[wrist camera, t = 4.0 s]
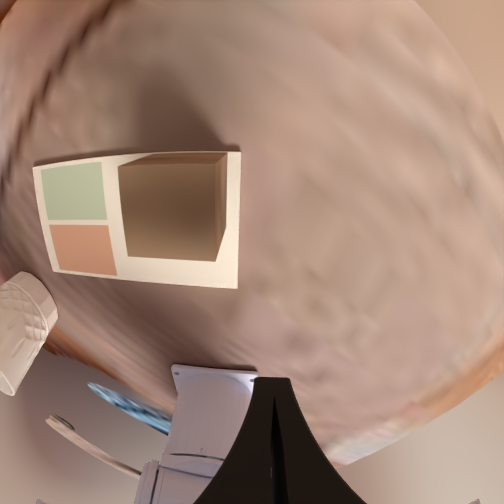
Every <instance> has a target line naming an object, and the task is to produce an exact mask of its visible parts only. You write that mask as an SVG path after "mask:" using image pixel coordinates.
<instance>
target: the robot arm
mask: <svg viewBox="0 0 504 504" xmlns="http://www.w3.org/2000/svg"><path fill="white" fill-rule="evenodd" d="M171 371H172V375H173V378H174V382H175V386H176V390H177V393H178V397H177V401H176V405H175V409H174V414H173V418H172V422H171V426H170V430H169V434H168V439H167V444H166V448H165V452H164V453H163V456H162V460H161V464H160V465H158V464H159V461H156V460H151V462H148V463H146V464H145V465H144V467H143V470H142V473H141V477H140V481H139V485H138V489H137V494H136V499H135V504H367V503H365V502H364V501H363V500H362V499H361V498H360V497H359V496H358V495H357V494H356V493H355V492H354V491H353V490H352V489H351V488H350V487H349V485H348V484H347V483H346V482H345V481H344V480H343V479H342V477H341V476H340V475H339V474H338V473H337V471H336V470H335V469H334V467H333V466H332V465H331V463H330V462H329V460H328V459H327V457H326V456H325V455H324V453H323V451H322V450H321V448H320V447H319V445H318V443H317V442H316V440H315V438H314V436H313V434H312V433H311V431H310V429H309V427H308V425H307V423H306V421H305V418H304V416H303V414H302V412H301V410H300V407H299V405H298V402H297V400H296V397H295V394H294V391H293V388H292V385H291V381H290V379H289V378H278V377H259V375H258V373H257V372H255V371H241V370H226V369H214V368H204V367H194V366H186V365H178V364H174V365H172V367H171ZM36 504H47V503H46V502H44V501H42V500H40V499H37V502H36ZM469 504H480V501H479V499H477V500H475V501H473V502H471V503H469Z"/></svg>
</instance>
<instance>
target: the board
mask: <svg viewBox="0 0 504 504" xmlns="http://www.w3.org/2000/svg"><path fill="white" fill-rule="evenodd" d="M162 153H228V160H227V213H226V229H225V233H224V236H223V239H222V242H221V246H220V249H219V252H218V255H217V259H216V262H210V261H193V260H176V259H159V258H144V257H128V254H127V248H126V241H125V235H124V227H123V220H122V212H121V202H120V192H119V180H118V166H120V165H123V164H125V163H128V162H131V161H134V160H136V159H139V158H142V157H145V156H148V155H151V154H162ZM33 177H34V185H35V192H36V199H37V205H38V210H39V216H40V221H41V226H42V230H43V235H44V239H45V243H46V247H47V251H48V255H49V259H50V262H51V266H52V269H53V272H60V273H68V274H76V275H85V276H93V277H102V278H111V279H121V280H131V281H142V282H153V283H164V284H177V285H190V286H204V287H219V288H236V289H237V287H238V248H239V211H240V180H241V152H235V151H177V152H152V153H136V154H123V155H112V156H102V157H93V158H85V159H78V160H71V161H64V162H58V163H52V164H46V165H40V166H35V167H33Z"/></svg>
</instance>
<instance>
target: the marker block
mask: <svg viewBox="0 0 504 504" xmlns="http://www.w3.org/2000/svg"><path fill="white" fill-rule="evenodd" d="M227 160H228V153H162V154H151V155H148V156H145V157H142V158H139V159H136V160H134V161H131V162H128V163H125V164H123V165H120V166H118V180H119V192H120V202H121V212H122V220H123V227H124V235H125V241H126V248H127V254H128V257H144V258H159V259H176V260H193V261H210V262H216V259H217V255H218V252H219V249H220V246H221V242H222V239H223V236H224V233H225V229H226V213H227Z"/></svg>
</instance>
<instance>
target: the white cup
mask: <svg viewBox="0 0 504 504" xmlns="http://www.w3.org/2000/svg"><path fill="white" fill-rule="evenodd" d="M57 319H58V314H57V307H56V305H55V302H54V300H53V298H52V296H51V294H50V293H49V291H48V290H47V289H46V287H45V286H44V285H43V284H42V282H41V281H39V280H38V279H37V278H36V277H34V276H33V275H32V274H30V273H27V272H23V271H21V272H19V273H17V274H15V275H14V276H13V277H11V278H10V279H9V280H8V281H7V282H5V283H4V284H1V285H0V390H1V391H2V392H4V393H5V394H7V395H10V396H13V395H14V394H15V392H16V390H17V388H18V387H19V385H20V383H21V381H22V379H23V378H24V376H25V374H26V372H27V371H28V369H29V367H30V366H31V364H32V362H33V361H34V358H35V356H36V355H37V354H38V352H39V350H40V348H41V346H42V345H43V344H44V342H45V340H46V337H47V335H48V334H49V332H50V331H51V329H52V328H53V327H54V325H55V323H56V321H57Z"/></svg>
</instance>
